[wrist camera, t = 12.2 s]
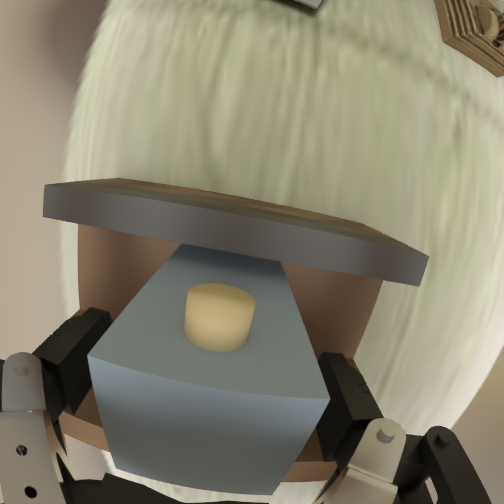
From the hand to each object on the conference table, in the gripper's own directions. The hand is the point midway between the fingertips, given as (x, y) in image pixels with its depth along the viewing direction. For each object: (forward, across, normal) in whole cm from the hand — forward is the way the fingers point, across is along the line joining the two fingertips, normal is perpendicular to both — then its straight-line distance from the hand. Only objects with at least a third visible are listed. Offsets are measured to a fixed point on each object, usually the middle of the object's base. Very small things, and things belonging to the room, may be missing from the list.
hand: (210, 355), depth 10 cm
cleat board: (+11, 0, 0) cm, 11 cm away
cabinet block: (+6, 0, 0) cm, 6 cm away
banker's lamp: (+11, -18, -35) cm, 41 cm away
